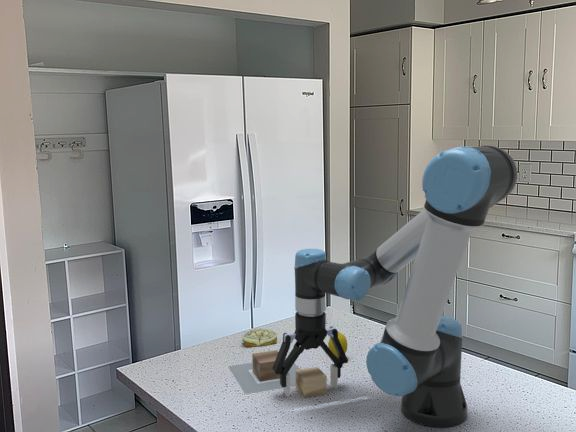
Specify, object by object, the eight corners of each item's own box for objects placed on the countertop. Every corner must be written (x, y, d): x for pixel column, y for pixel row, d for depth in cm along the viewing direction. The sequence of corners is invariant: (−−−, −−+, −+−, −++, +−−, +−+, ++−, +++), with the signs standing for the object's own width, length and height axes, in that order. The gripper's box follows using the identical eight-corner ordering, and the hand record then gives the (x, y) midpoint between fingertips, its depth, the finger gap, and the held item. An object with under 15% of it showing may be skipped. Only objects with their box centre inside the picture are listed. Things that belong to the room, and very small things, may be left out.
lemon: (347, 354, 170) (347, 328, 169) (347, 362, 165) (347, 335, 163) (328, 354, 171) (328, 328, 169) (328, 361, 165) (328, 335, 164)
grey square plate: (312, 387, 149) (312, 382, 149) (245, 398, 143) (245, 394, 143) (289, 361, 166) (289, 357, 166) (228, 370, 160) (228, 366, 160)
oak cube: (326, 398, 143) (326, 375, 142) (304, 402, 141) (304, 379, 140) (317, 388, 148) (317, 366, 148) (295, 392, 146) (295, 370, 146)
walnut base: (285, 377, 152) (285, 359, 151) (260, 381, 150) (259, 363, 149) (277, 367, 159) (276, 350, 158) (252, 371, 156) (252, 353, 156)
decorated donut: (235, 345, 179) (235, 334, 178) (259, 335, 187) (259, 324, 186) (260, 353, 172) (260, 341, 172) (283, 343, 180) (283, 331, 180)
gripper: (348, 302, 149) (348, 380, 152) (258, 312, 141) (260, 395, 144) (361, 310, 142) (360, 392, 145) (267, 322, 134) (269, 409, 137)
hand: (310, 394), depth 145 cm, fingers open, 12 cm apart
